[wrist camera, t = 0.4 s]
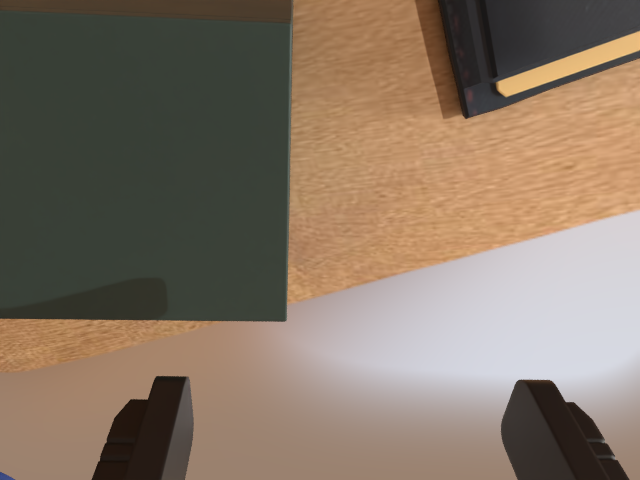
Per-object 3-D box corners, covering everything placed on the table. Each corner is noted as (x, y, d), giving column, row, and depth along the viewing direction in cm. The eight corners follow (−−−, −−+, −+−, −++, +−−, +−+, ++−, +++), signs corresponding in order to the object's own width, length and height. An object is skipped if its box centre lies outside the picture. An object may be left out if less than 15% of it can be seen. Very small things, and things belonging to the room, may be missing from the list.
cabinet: (43, 213, 30) (-50, 318, 22) (-20, -25, 24) (-187, 1, 16) (289, 218, 31) (286, 322, 23) (293, -9, 25) (292, 23, 16)
